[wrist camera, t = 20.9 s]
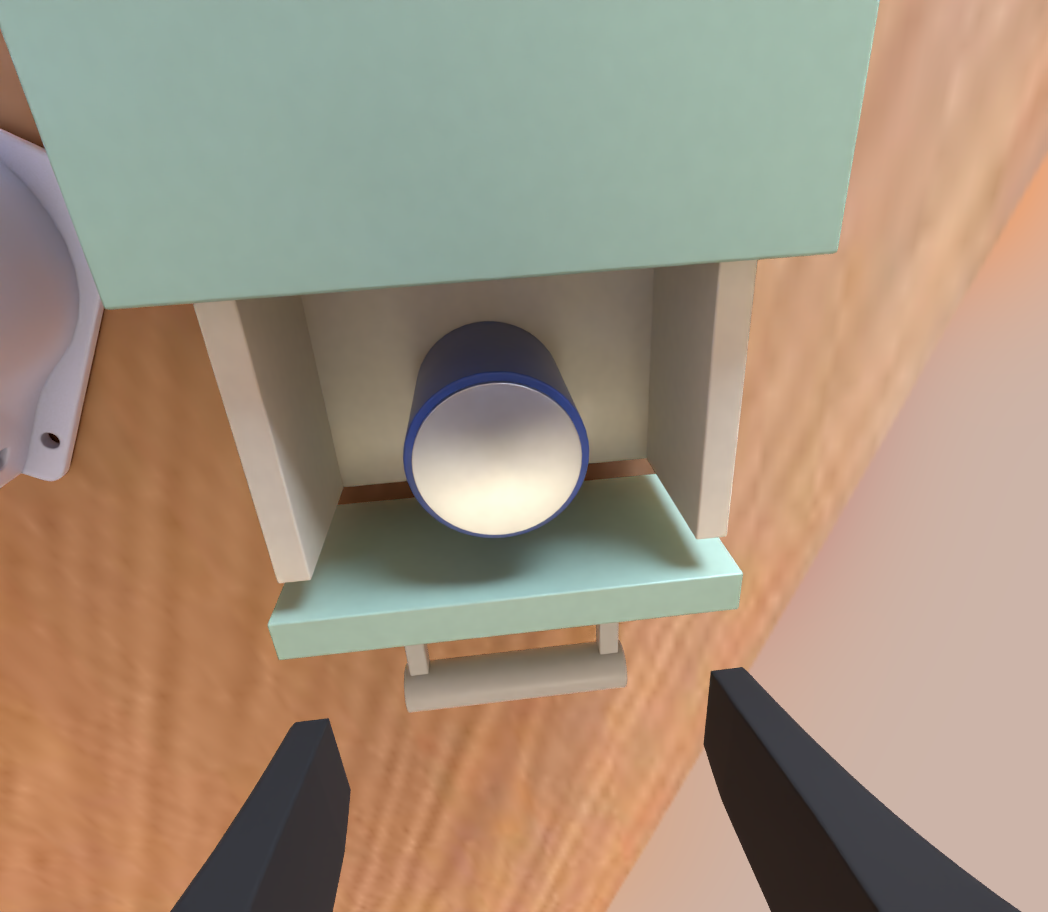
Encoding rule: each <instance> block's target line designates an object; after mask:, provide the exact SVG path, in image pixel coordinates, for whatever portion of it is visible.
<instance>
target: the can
mask: <svg viewBox="0 0 1048 912" xmlns="http://www.w3.org/2000/svg"><path fill="white" fill-rule="evenodd" d="M588 463H589V441H588V436H587V432H586V429H585V426H584V424H583V421H582V419H581V416H580V414H579V412H578V410H577V408H576V406H575V403H574V401H573V399H572V397H571V395H570V393H569V390H568V388H567V386H566V384H565V382H564V380H563V378H562V375H561V373H560V371H559V369H558V367H557V365H556V362H555V360H554V359H553V357H552V355H551V353H550V352H549V351H548V349H547V348H546V347H545V345H544V344H542V343H541V342H540V341H539V340H538V339H537V338H536V337H535V336H533V335H532V334H531V333H529V332H527V331H525V330H524V329H522V328H519V327H517V326H514V325H511V324H507V323H503V322H495V321H482V322H476V323H471V324H467V325H464V326H461V327H459V328H457V329H454V330H453V331H451V332H449V333H448V334H446V335H445V336H443V337H442V338H441V339H440V340H438V341H437V342H436V343H435V344H434V346H433V347H432V348H431V349H430V350H429V352H428V353H427V355H426V356H425V358H424V360H423V362H422V364H421V366H420V369H419V372H418V376H417V381H416V386H415V391H414V396H413V401H412V406H411V411H410V417H409V422H408V427H407V432H406V437H405V442H404V448H403V464H404V471H405V475H406V479H407V482H408V484H409V487H410V489H411V491H412V493H413V494H414V496H415V498H416V499H417V501H418V502H419V503H420V505H421V506H422V507H423V508H424V509H425V510H426V511H427V512H428V513H429V514H430V515H431V516H432V517H433V518H435V519H436V520H437V521H439V522H440V523H442V524H444V525H445V526H447V527H449V528H451V529H453V530H456V531H458V532H460V533H464V534H467V535H471V536H476V537H482V538H505V537H511V536H517V535H520V534H524V533H527V532H530V531H532V530H535V529H537V528H539V527H541V526H543V525H545V524H547V523H548V522H550V521H551V520H553V519H554V518H556V517H557V516H558V515H559V514H560V513H561V512H562V511H564V510H565V509H566V507H567V506H568V505H569V504H570V503H571V502H572V500H573V499H574V497H575V496H576V495H577V493H578V491H579V489H580V487H581V485H582V483H583V481H584V478H585V475H586V473H587V468H588Z"/></svg>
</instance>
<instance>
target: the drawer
mask: <svg viewBox="0 0 1048 912" xmlns="http://www.w3.org/2000/svg"><path fill="white" fill-rule="evenodd" d="M756 269H757V260H747V261H734V262H721V263H708V264H695V265H683V266H670V267H657V268H644V269H631V270H618V271H605V272H592V273H579V274H566V275H553V276H541V277H528V278H515V279H502V280H489V281H476V282H463V283H450V284H437V285H424V286H411V287H398V288H386V289H373V290H360V291H347V292H334V293H321V294H308V295H295V296H282V297H269V298H256V299H244V300H231V301H218V302H205V303H193V305H194V309H195V312H196V315H197V319H198V322H199V325H200V328H201V332H202V335H203V338H204V342H205V345H206V348H207V352H208V355H209V358H210V361H211V365H212V368H213V371H214V375H215V378H216V381H217V384H218V388H219V391H220V394H221V398H222V401H223V404H224V407H225V411H226V414H227V417H228V421H229V424H230V427H231V431H232V434H233V437H234V440H235V444H236V447H237V450H238V454H239V457H240V460H241V463H242V467H243V470H244V473H245V477H246V480H247V483H248V487H249V490H250V493H251V496H252V500H253V503H254V506H255V510H256V513H257V516H258V519H259V523H260V526H261V529H262V533H263V536H264V539H265V542H266V546H267V549H268V552H269V556H270V559H271V562H272V566H273V569H274V572H275V575H276V579H277V582H278V583H284V586H283V588H282V591H281V593H280V596H279V598H278V600H277V603H276V605H275V608H274V610H273V613H272V615H271V617H270V620H269V622H268V629H269V632H270V635H271V638H272V641H273V644H274V647H275V650H276V653H277V656H278V659H279V660H286V659H294V658H303V657H312V656H321V655H330V654H339V653H348V652H357V651H366V650H375V649H384V648H393V647H402V646H404V647H405V652H406V657H407V662H408V663H407V664H406V667H405V672H404V693H405V702H406V707H407V710H408V712H410V713H411V712H419V711H428V710H436V709H444V708H453V707H461V706H470V705H478V704H487V703H495V702H504V701H512V700H520V699H529V698H537V697H546V696H554V695H563V694H571V693H580V692H588V691H596V690H605V689H613V688H622V687H626V685H627V667H626V660H625V655H624V651H623V647H622V645H621V642H620V641H619V640H618V624H619V622H625V621H634V620H643V619H652V618H661V617H670V616H679V615H687V614H696V613H705V612H714V611H723V610H732V609H738V608H739V600H740V593H741V585H742V577H743V573H742V571H741V570H740V568H739V567H738V565H737V564H736V562H735V561H734V559H733V558H732V556H731V555H730V554H729V552H728V551H727V549H726V548H725V546H724V545H723V543H722V542H721V540H720V539H719V537H725V536H727V528H728V519H729V510H730V501H731V493H732V484H733V475H734V466H735V457H736V448H737V439H738V430H739V421H740V412H741V403H742V394H743V385H744V376H745V367H746V359H747V350H748V341H749V332H750V323H751V314H752V305H753V296H754V287H755V278H756ZM482 321H495V322H503V323H507V324H511V325H514V326H517V327H519V328H522V329H524V330H525V331H527V332H529V333H531V334H532V335H533V336H535V337H536V338H537V339H538V340H539V341H540V342H541V343H542V344H544V345H545V347H546V348H547V349H548V351H549V352H550V353H551V355H552V357H553V359H554V360H555V362H556V365H557V367H558V369H559V371H560V373H561V375H562V378H563V380H564V382H565V384H566V386H567V388H568V390H569V393H570V395H571V397H572V399H573V401H574V403H575V406H576V408H577V410H578V412H579V414H580V416H581V419H582V421H583V424H584V426H585V429H586V432H587V436H588V441H589V463H588V464H591V463H601V462H612V461H622V460H633V459H643V458H647V460H648V462H649V463H650V465H651V467H652V468H653V470H654V471H655V473H656V474H649V475H639V476H629V477H618V478H608V479H598V480H588V481H583V483H582V485H581V487H580V489H579V491H578V493H577V495H576V496H575V497H574V499H573V500H572V502H571V503H570V504H569V505H568V506H567V507H566V509H565V510H564V511H562V512H561V513H560V514H559V515H558V516H557V517H556V518H554V519H553V520H551V521H550V522H548V523H547V524H545V525H543V526H541V527H539V528H537V529H535V530H532V531H530V532H527V533H524V534H520V535H517V536H511V537H505V538H482V537H476V536H471V535H467V534H464V533H460V532H458V531H456V530H453V529H451V528H449V527H447V526H445V525H444V524H442V523H440V522H439V521H437V520H436V519H435V518H433V517H432V516H431V515H430V514H429V513H428V512H427V511H426V510H425V509H424V508H423V507H422V506H421V505H420V503H419V502H418V501H417V499H416V498H415V497H414V498H404V499H393V500H383V501H373V502H363V503H352V504H342V505H337V504H338V502H339V499H340V496H341V493H342V490H343V487H352V486H362V485H373V484H383V483H393V482H404V481H407V479H406V475H405V471H404V464H403V448H404V442H405V437H406V432H407V427H408V422H409V417H410V411H411V406H412V401H413V396H414V391H415V386H416V381H417V376H418V372H419V369H420V366H421V364H422V362H423V360H424V358H425V356H426V355H427V353H428V352H429V350H430V349H431V348H432V347H433V346H434V344H435V343H436V342H437V341H438V340H440V339H441V338H442V337H443V336H445V335H446V334H448V333H449V332H451V331H453V330H454V329H457V328H459V327H461V326H464V325H467V324H471V323H476V322H482ZM589 625H596V642H588V643H579V644H570V645H561V646H553V647H544V648H535V649H526V650H517V651H509V652H500V653H491V654H482V655H473V656H465V657H456V658H447V659H438V660H430V659H429V654H428V648H427V644H428V643H437V642H446V641H455V640H464V639H473V638H482V637H491V636H500V635H509V634H518V633H527V632H536V631H545V630H553V629H562V628H571V627H580V626H589Z"/></svg>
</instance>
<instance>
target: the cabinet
mask: <svg viewBox="0 0 1048 912" xmlns="http://www.w3.org/2000/svg"><path fill="white" fill-rule="evenodd" d="M879 1H880V0H0V29H1V32H2V34H3V37H4V40H5V42H6V45H7V48H8V51H9V53H10V56H11V59H12V61H13V64H14V67H15V69H16V72H17V75H18V78H19V80H20V83H21V86H22V88H23V91H24V94H25V96H26V99H27V102H28V104H29V107H30V110H31V113H32V115H33V118H34V121H35V123H36V126H37V129H38V131H39V134H40V137H41V140H42V142H43V145H44V148H45V150H46V153H47V156H48V158H49V161H50V164H51V166H52V169H53V172H54V175H55V177H56V180H57V183H58V185H59V188H60V191H61V193H62V196H63V199H64V202H65V204H66V207H67V210H68V212H69V215H70V218H71V220H72V223H73V226H74V228H75V231H76V234H77V237H78V239H79V242H80V245H81V247H82V250H83V253H84V255H85V258H86V261H87V264H88V266H89V269H90V272H91V274H92V277H93V280H94V282H95V285H96V288H97V290H98V293H99V296H100V299H101V301H102V304H103V307H104V308H105V309H108V310H114V309H127V308H140V307H153V306H166V305H179V304H192V303H205V302H218V301H231V300H244V299H256V298H269V297H282V296H295V295H308V294H321V293H334V292H347V291H360V290H373V289H386V288H398V287H411V286H424V285H437V284H450V283H463V282H476V281H489V280H502V279H515V278H528V277H541V276H553V275H566V274H579V273H592V272H605V271H618V270H631V269H644V268H657V267H670V266H683V265H695V264H708V263H721V262H734V261H747V260H760V259H773V258H786V257H799V256H812V255H825V254H833V253H836V252H837V250H838V245H839V239H840V233H841V227H842V221H843V215H844V209H845V203H846V197H847V191H848V185H849V179H850V173H851V167H852V161H853V156H854V150H855V144H856V138H857V132H858V126H859V120H860V114H861V108H862V102H863V96H864V90H865V84H866V78H867V72H868V66H869V60H870V55H871V49H872V43H873V37H874V31H875V25H876V19H877V13H878V7H879Z"/></svg>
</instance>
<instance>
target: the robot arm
mask: <svg viewBox="0 0 1048 912" xmlns="http://www.w3.org/2000/svg"><path fill="white" fill-rule="evenodd" d="M103 310H104V307H103V304H102V301H101V299H100V296H99V293H98V290H97V288H96V285H95V282H94V280H93V277H92V274H91V272H90V269H89V266H88V264H87V261H86V258H85V255H84V253H83V250H82V247H81V245H80V242H79V239H78V237H77V234H76V231H75V228H74V226H73V223H72V220H71V218H70V215H69V212H68V210H67V207H66V204H65V202H64V199H63V196H62V193H61V191H60V188H59V185H58V183H57V180H56V177H55V175H54V172H53V169H52V166H51V164H50V161H49V158H48V156H47V153H46V150H45V149H44V148H42V147H40V146H38V145H35V144H33V143H31V142H29V141H27V140H24V139H22V138H20V137H18V136H16V135H13V134H11V133H9V132H7V131H5V130H2V129H0V488H1V487H3V486H4V485H5V484H7V483H8V482H10V481H11V480H12V479H14V478H15V477H17V476H18V475H19V474H21V473H23V474H26V475H29V476H32V477H35V478H38V479H41V480H46V481H56V480H58V479H60V478H61V477H62V476H64V475H65V474H66V473H67V472H68V470H69V468H70V463H71V459H72V454H73V449H74V445H75V440H76V435H77V431H78V426H79V421H80V417H81V412H82V408H83V403H84V398H85V394H86V389H87V384H88V380H89V375H90V370H91V366H92V361H93V356H94V352H95V347H96V342H97V338H98V333H99V329H100V324H101V319H102V315H103ZM49 433H52V434H54V435H56V436H57V437H58V439H59V440H60V443H57V442H55V441H53V440H52V439H51V438H50V437H49ZM704 747H705V750H706V753H707V756H708V760H709V763H710V766H711V769H712V772H713V775H714V778H715V781H716V784H717V787H718V790H719V793H720V796H721V799H722V802H723V804H724V806H725V809H726V811H727V813H728V816H729V818H730V820H731V823H732V825H733V827H734V829H735V832H736V834H737V836H738V838H739V841H740V843H741V845H742V847H743V850H744V852H745V854H746V856H747V859H748V861H749V863H750V865H751V868H752V870H753V872H754V874H755V876H756V879H757V881H758V883H759V885H760V888H761V890H762V892H763V894H764V897H765V899H766V901H767V903H768V906H769V908H770V910H771V912H1021V911H1019V910H1018V909H1017V908H1015V907H1014V906H1012V905H1011V904H1010V903H1008V902H1007V901H1005V900H1004V899H1002V898H1001V897H1000V896H998V895H997V894H995V893H994V892H993V891H991V890H990V889H989V888H987V887H986V886H985V885H983V884H982V883H981V882H979V881H978V880H977V879H975V878H974V877H973V876H971V875H970V874H969V873H967V872H966V871H965V870H963V869H962V868H961V867H959V866H958V865H957V864H956V863H954V862H953V861H952V860H951V859H949V858H948V857H947V856H945V855H944V854H943V853H942V852H940V851H939V850H938V849H937V848H935V847H934V846H933V845H931V844H930V843H929V842H928V841H927V840H925V839H924V838H923V837H922V836H920V835H919V834H918V833H916V832H915V831H914V830H913V829H912V828H911V827H909V826H908V825H907V824H906V823H905V822H904V821H902V820H901V819H900V818H899V817H898V816H897V815H895V814H894V813H893V812H892V811H891V810H890V809H888V808H887V807H886V806H885V805H884V804H883V803H882V802H880V801H879V800H878V799H877V798H876V797H875V796H874V795H872V794H871V793H870V792H869V791H868V790H867V789H865V787H863V786H862V785H861V784H860V783H859V782H858V781H857V780H856V779H855V778H853V776H851V775H850V774H849V773H848V772H847V771H846V770H845V769H844V768H843V767H842V766H841V765H840V764H839V763H838V762H837V761H836V760H834V759H833V758H832V757H831V756H830V755H829V754H828V753H827V752H826V751H825V750H824V749H823V748H822V747H821V746H820V745H819V744H818V743H816V741H815V740H814V739H813V738H811V736H810V735H808V734H807V733H806V732H805V731H804V730H803V729H802V728H801V727H800V726H799V725H798V724H797V722H795V720H794V719H792V718H791V716H790V715H789V714H788V713H787V712H786V711H785V710H784V709H783V708H782V707H781V706H780V705H779V704H778V703H777V702H776V701H775V700H774V699H773V698H772V697H771V696H770V695H769V694H768V693H767V692H766V691H765V690H764V689H763V687H762V686H761V685H759V683H758V682H757V681H756V680H755V679H754V678H753V677H752V676H751V675H750V674H749V673H748V672H747V671H746V670H745V669H744V668H743V667H740V668H732V669H724V670H716V671H711V676H710V686H709V696H708V706H707V716H706V725H705V735H704ZM350 791H351V790H350V786H349V783H348V780H347V777H346V773H345V770H344V767H343V763H342V760H341V757H340V754H339V750H338V747H337V744H336V740H335V737H334V734H333V731H332V727H331V724H330V721H329V718H327V719H319V720H311V721H303V722H295V723H294V724H293V725H292V727H291V728H290V729H289V731H288V733H287V734H286V736H285V738H284V740H283V741H282V743H281V745H280V746H279V748H278V750H277V751H276V753H275V755H274V756H273V758H272V760H271V761H270V763H269V765H268V766H267V768H266V770H265V771H264V773H263V775H262V776H261V778H260V780H259V781H258V783H257V784H256V786H255V788H254V789H253V791H252V792H251V794H250V796H249V797H248V799H247V800H246V802H245V803H244V805H243V807H242V808H241V810H240V811H239V813H238V814H237V816H236V817H235V819H234V820H233V822H232V823H231V825H230V826H229V828H228V829H227V831H226V833H225V834H224V836H223V837H222V839H221V840H220V842H219V843H218V845H217V846H216V848H215V849H214V851H213V852H212V854H211V855H210V857H209V858H208V859H207V861H206V862H205V864H204V865H203V866H202V868H201V869H200V871H199V872H198V873H197V875H196V876H195V878H194V879H193V880H192V882H191V883H190V885H189V886H188V888H187V889H186V890H185V892H184V893H183V895H182V896H181V897H180V899H179V900H178V902H177V903H176V904H175V906H174V907H173V909H172V910H171V911H170V912H333V907H334V902H335V897H336V892H337V887H338V882H339V877H340V872H341V867H342V862H343V857H344V852H345V843H346V833H347V824H348V813H349V802H350Z"/></svg>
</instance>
